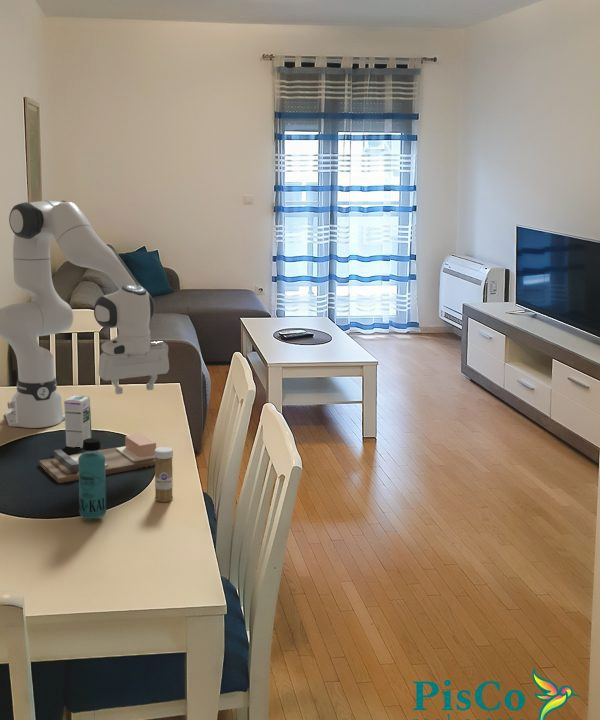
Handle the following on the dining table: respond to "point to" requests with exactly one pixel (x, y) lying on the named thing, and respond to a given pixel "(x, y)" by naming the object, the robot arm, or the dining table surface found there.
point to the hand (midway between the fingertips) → (134, 391)
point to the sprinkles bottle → (163, 474)
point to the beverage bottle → (92, 480)
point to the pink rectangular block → (138, 447)
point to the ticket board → (109, 459)
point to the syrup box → (77, 420)
